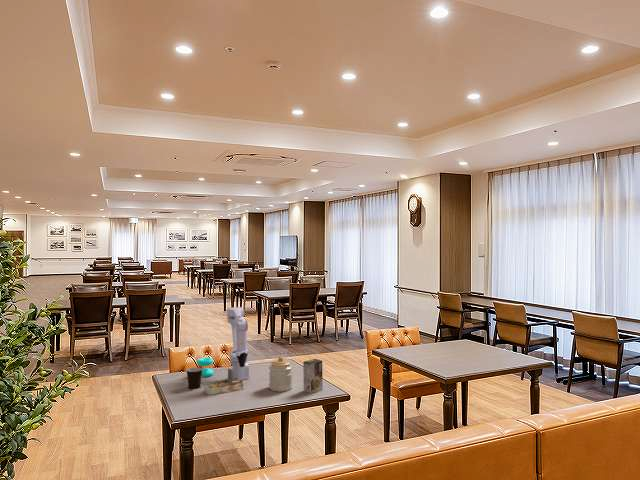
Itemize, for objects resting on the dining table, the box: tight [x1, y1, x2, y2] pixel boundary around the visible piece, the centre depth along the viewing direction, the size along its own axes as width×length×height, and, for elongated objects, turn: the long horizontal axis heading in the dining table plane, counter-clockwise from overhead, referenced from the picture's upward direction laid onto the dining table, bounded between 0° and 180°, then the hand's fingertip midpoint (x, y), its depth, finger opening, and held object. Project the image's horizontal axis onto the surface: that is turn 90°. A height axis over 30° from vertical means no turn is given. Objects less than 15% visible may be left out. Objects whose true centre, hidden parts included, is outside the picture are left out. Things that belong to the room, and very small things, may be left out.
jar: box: [268, 356, 293, 393], centre depth 256 cm, size 13×13×18 cm
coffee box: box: [302, 358, 324, 394], centre depth 253 cm, size 9×6×16 cm
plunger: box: [224, 368, 234, 383], centre depth 255 cm, size 3×5×7 cm, turn 34°
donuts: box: [196, 357, 214, 378], centre depth 281 cm, size 10×10×10 cm
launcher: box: [215, 378, 244, 394], centre depth 255 cm, size 12×9×4 cm
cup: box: [204, 383, 222, 396], centre depth 249 cm, size 6×7×3 cm
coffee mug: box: [186, 367, 203, 390], centre depth 259 cm, size 12×9×10 cm
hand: (242, 366), depth 262 cm, fingers closed
